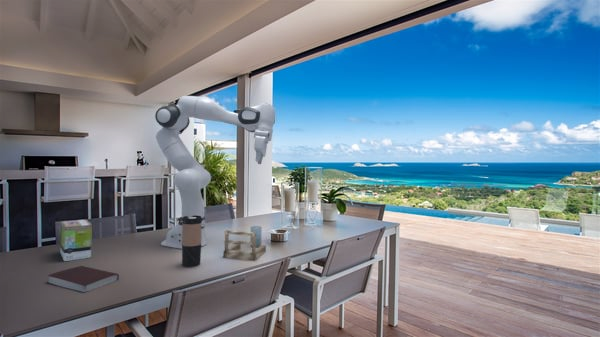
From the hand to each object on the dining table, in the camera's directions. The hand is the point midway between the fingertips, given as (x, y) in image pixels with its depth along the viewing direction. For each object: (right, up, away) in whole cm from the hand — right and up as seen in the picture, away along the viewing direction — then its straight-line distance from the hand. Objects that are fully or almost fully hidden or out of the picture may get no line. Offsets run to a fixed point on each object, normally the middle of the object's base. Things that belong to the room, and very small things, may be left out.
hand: (258, 162), depth 161 cm
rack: (-5, -43, -8) cm, 44 cm away
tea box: (-78, -42, -17) cm, 90 cm away
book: (-56, -43, -45) cm, 84 cm away
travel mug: (-25, -43, -24) cm, 56 cm away
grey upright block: (-2, -43, +5) cm, 43 cm away
